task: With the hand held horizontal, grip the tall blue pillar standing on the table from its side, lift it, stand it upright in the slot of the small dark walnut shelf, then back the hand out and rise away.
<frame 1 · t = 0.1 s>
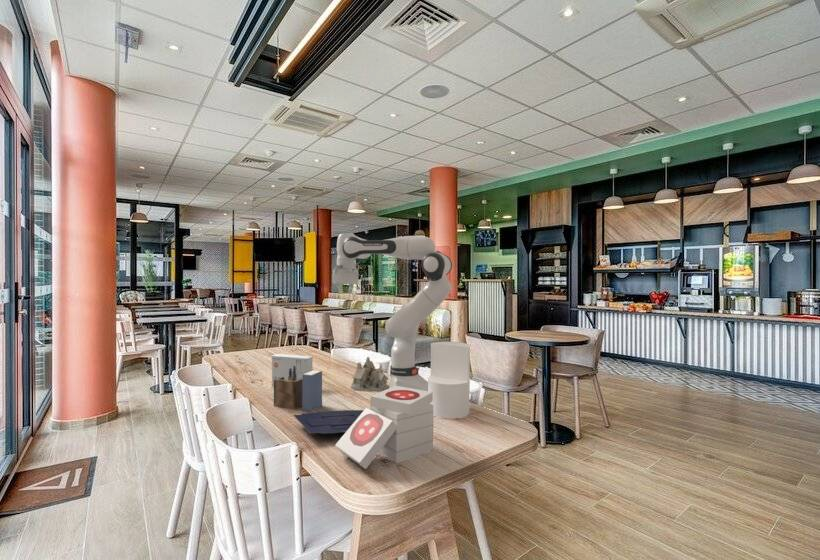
hand: (345, 293, 201), 48 cm above the table, fingers open, 8 cm apart
tall blue pillar: (312, 407, 173), on the table
grey rock: (369, 388, 205), on the table
cylinder: (448, 412, 169), on the table
shelf: (292, 403, 179), on the table
skincare box: (292, 387, 205), on the table
pizza boxes: (388, 453, 130), on the table
navy flat slab: (340, 427, 152), on the table
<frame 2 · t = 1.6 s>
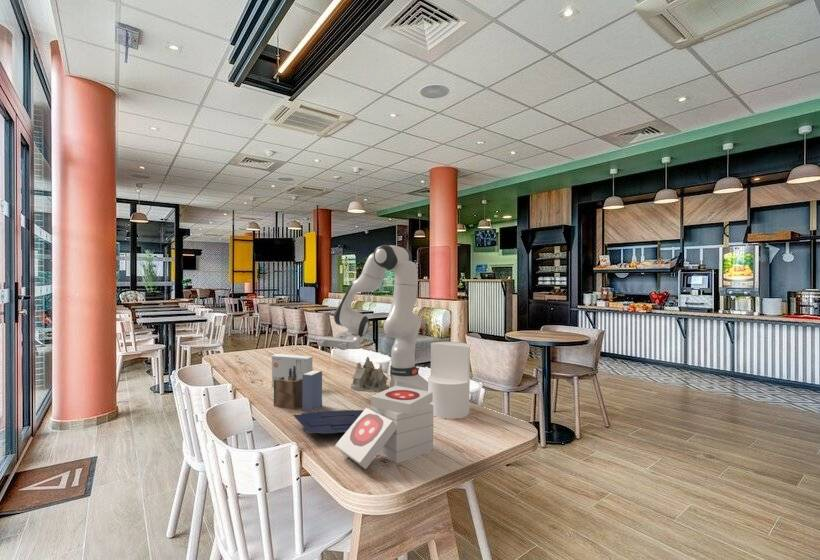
hand: (329, 345, 186), 24 cm above the table, fingers open, 8 cm apart
nothing on the table moved.
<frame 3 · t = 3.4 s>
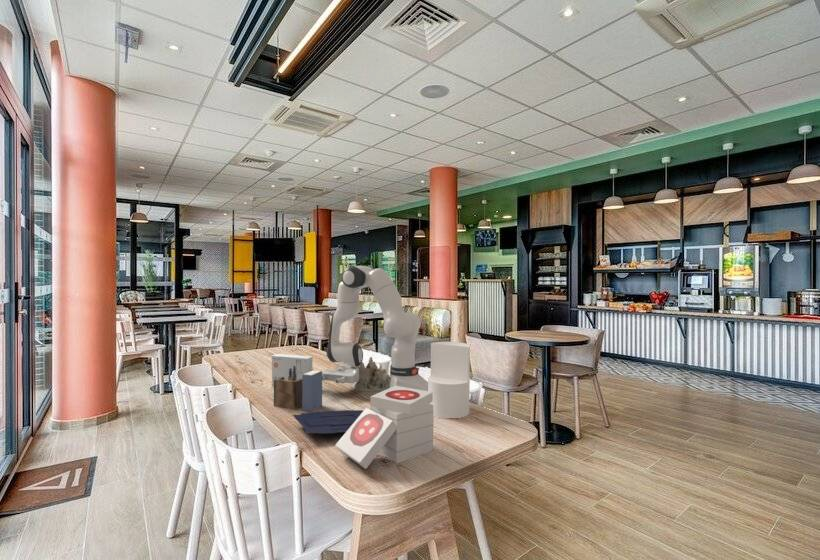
hand: (328, 380, 185), 9 cm above the table, fingers open, 8 cm apart
grey rock: (372, 388, 204), on the table
everything else where it was.
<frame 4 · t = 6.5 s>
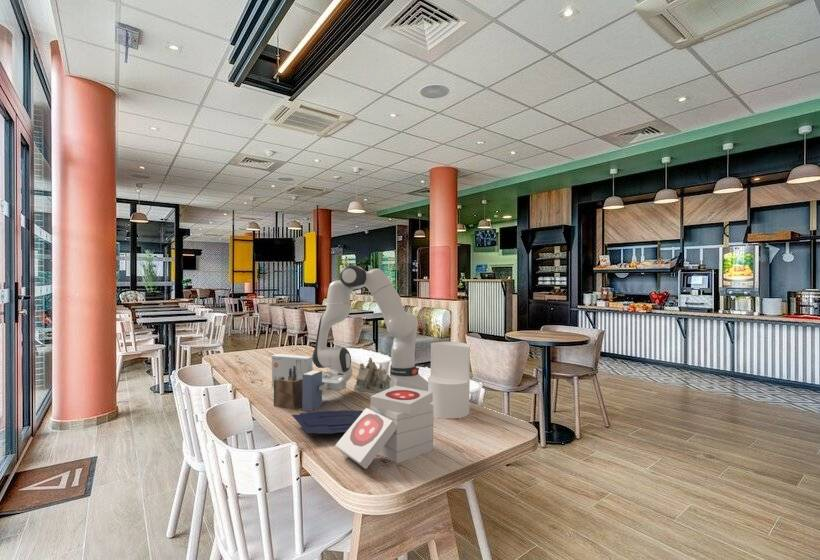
hand: (312, 387, 173), 9 cm above the table, fingers closed on tall blue pillar, 4 cm apart
tall blue pillar: (312, 407, 173), on the table, touching gripper
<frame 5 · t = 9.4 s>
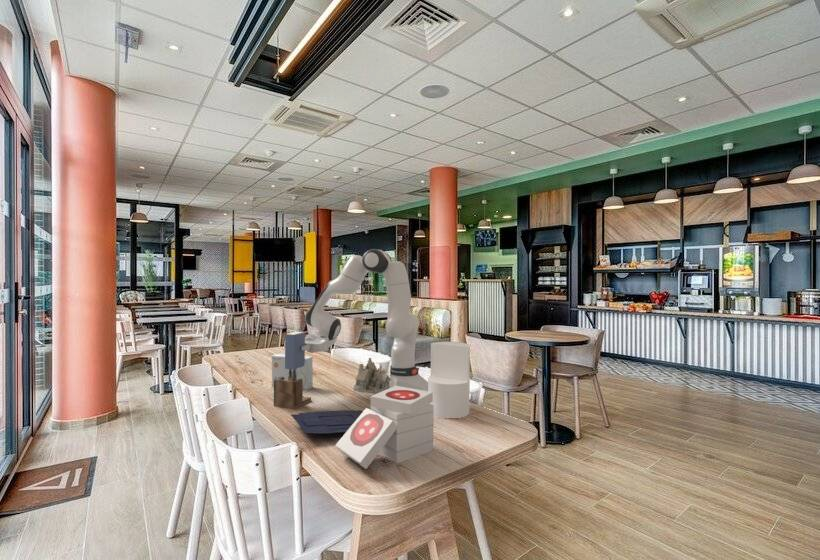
hand: (295, 347, 179), 25 cm above the table, fingers closed on tall blue pillar, 4 cm apart
tall blue pillar: (294, 367, 179), point 16 cm above the table, touching gripper
when the fingers open (11 cm above the table, at t = 12.3 s): tall blue pillar drops 1 cm, resting on shelf.
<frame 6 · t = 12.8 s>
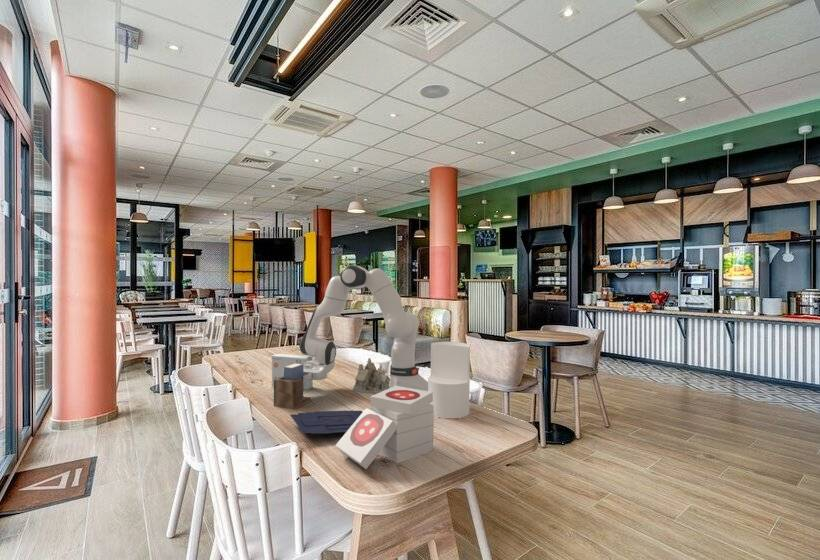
hand: (293, 377, 180), 11 cm above the table, fingers open, 8 cm apart
tall blue pillar: (293, 399, 180), point 1 cm above the table, touching shelf
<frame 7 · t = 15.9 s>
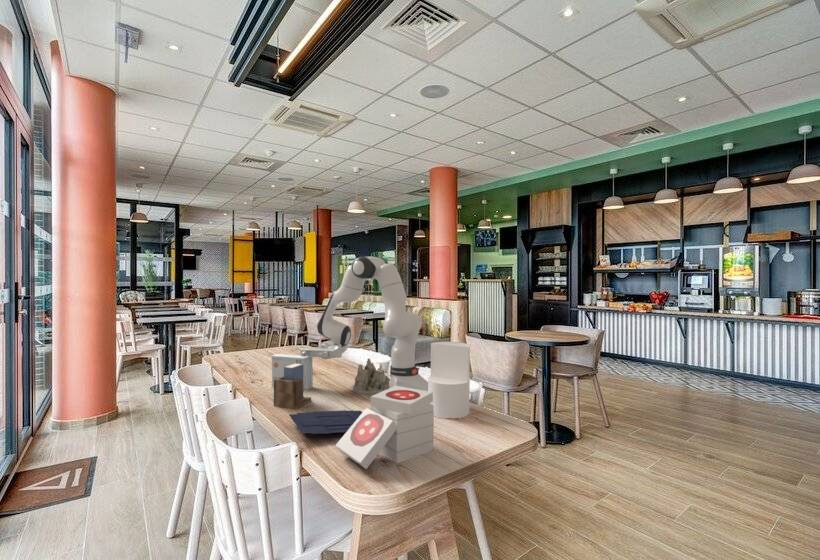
hand: (311, 355, 191), 19 cm above the table, fingers open, 8 cm apart
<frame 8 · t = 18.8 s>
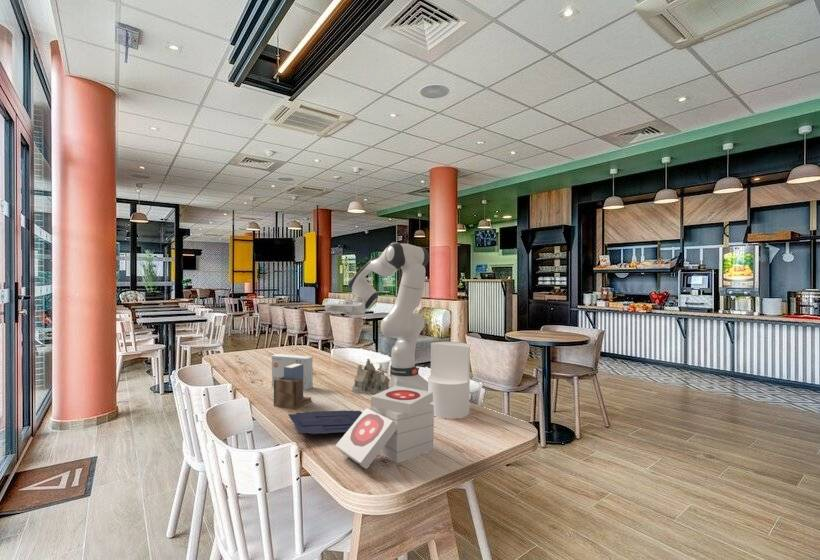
hand: (336, 309, 200), 40 cm above the table, fingers open, 8 cm apart
at the end: tall blue pillar 0.4 cm off-centre on the shelf, point 1.5 cm above the shelf's base; tall blue pillar tilted 0°; the gripper is holding nothing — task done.
